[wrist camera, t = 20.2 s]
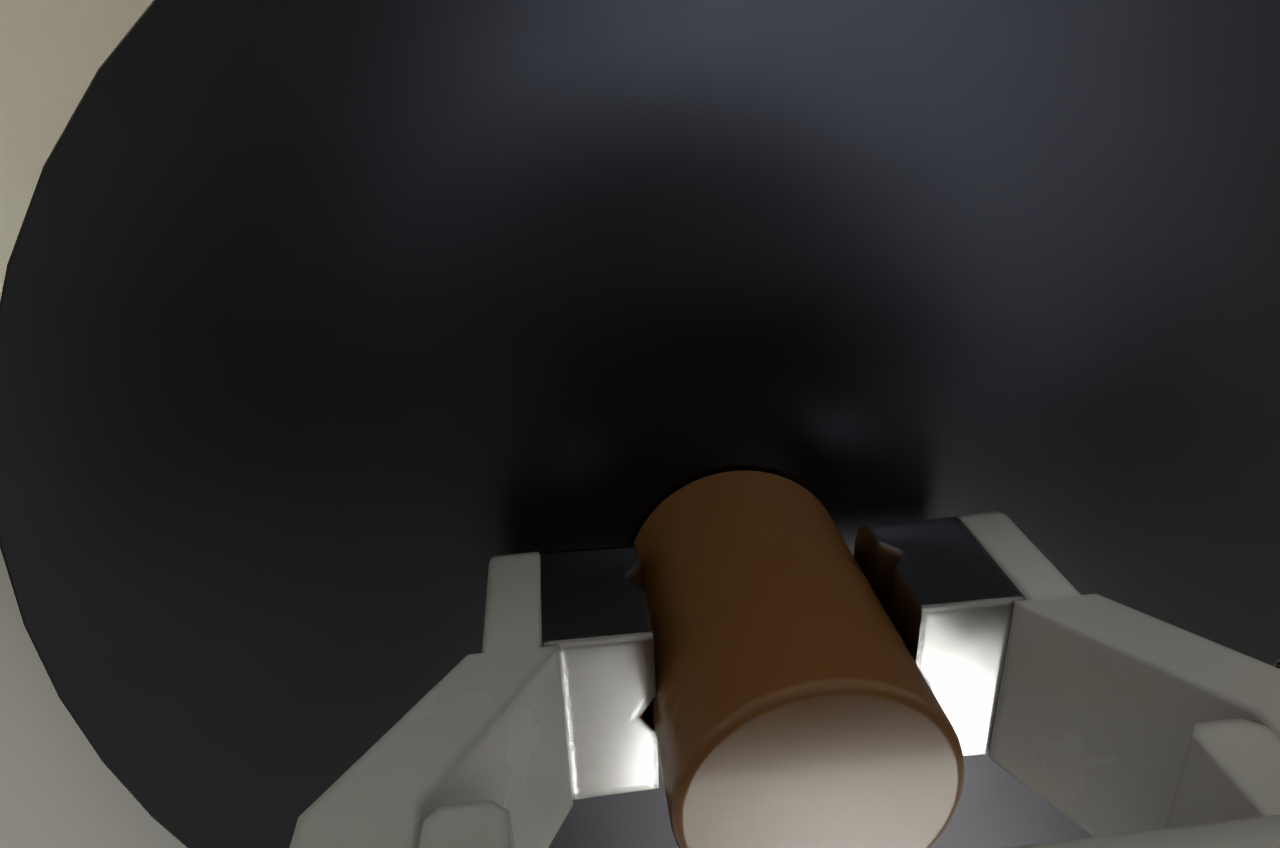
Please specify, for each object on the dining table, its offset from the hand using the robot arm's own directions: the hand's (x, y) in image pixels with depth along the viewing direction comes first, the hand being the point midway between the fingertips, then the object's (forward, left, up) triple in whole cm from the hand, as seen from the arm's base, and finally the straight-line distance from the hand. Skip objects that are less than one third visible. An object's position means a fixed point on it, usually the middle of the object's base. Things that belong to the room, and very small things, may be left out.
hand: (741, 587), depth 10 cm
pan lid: (0, 0, -1) cm, 1 cm away
